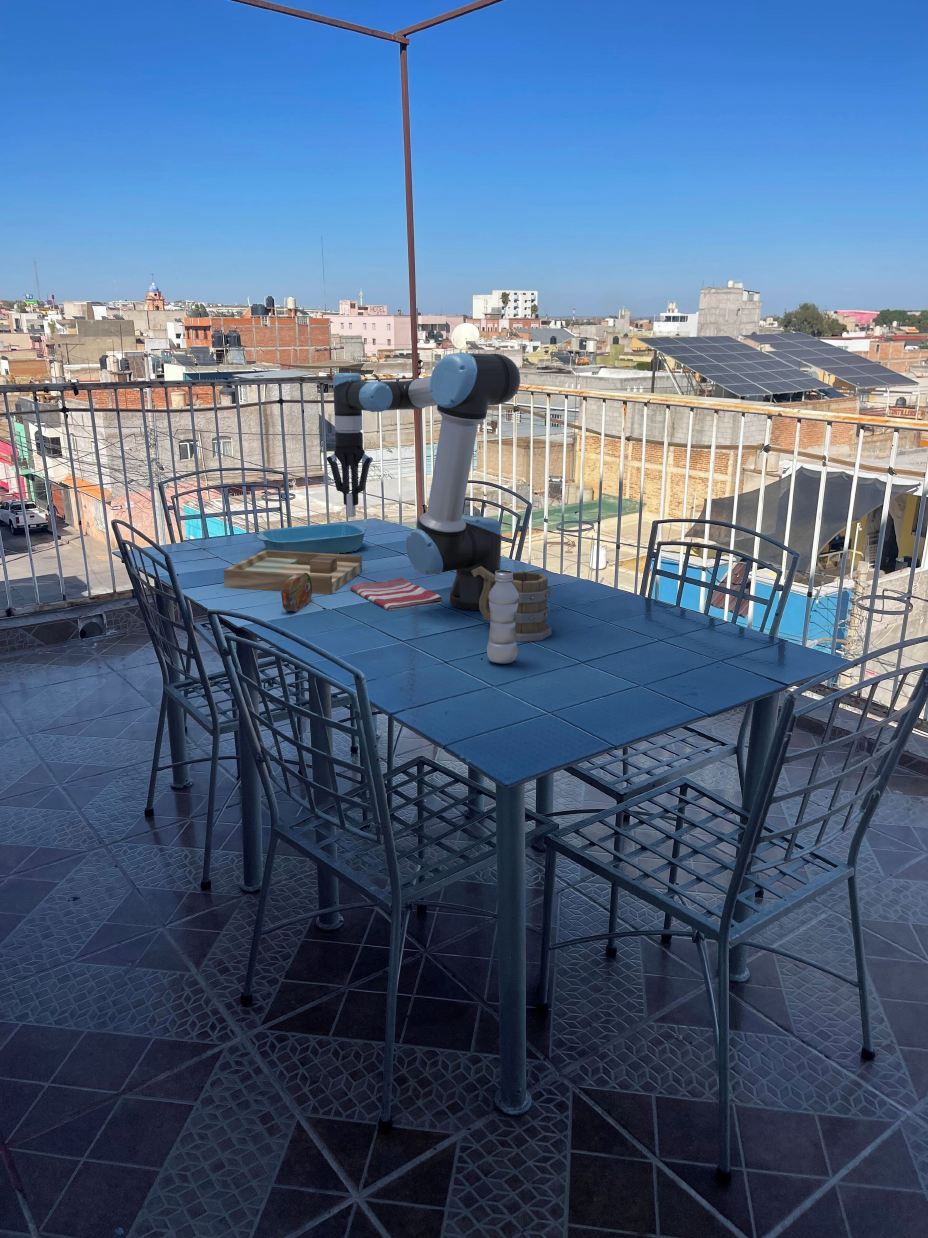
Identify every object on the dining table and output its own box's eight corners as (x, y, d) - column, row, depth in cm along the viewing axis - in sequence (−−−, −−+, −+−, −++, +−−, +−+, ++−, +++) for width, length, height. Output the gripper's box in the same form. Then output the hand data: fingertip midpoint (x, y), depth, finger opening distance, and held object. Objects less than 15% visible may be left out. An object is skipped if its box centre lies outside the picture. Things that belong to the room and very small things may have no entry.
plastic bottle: (498, 654, 187) (500, 566, 181) (523, 661, 183) (526, 571, 177) (480, 662, 182) (481, 571, 177) (505, 669, 178) (507, 577, 172)
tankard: (558, 630, 204) (560, 570, 200) (534, 645, 194) (537, 581, 189) (485, 617, 214) (486, 559, 209) (459, 630, 203) (460, 570, 199)
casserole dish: (268, 564, 268) (266, 541, 266) (251, 550, 287) (249, 529, 285) (377, 553, 284) (376, 532, 282) (354, 540, 303) (353, 520, 301)
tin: (291, 615, 214) (290, 583, 212) (280, 615, 215) (278, 582, 212) (313, 600, 228) (312, 569, 226) (302, 599, 229) (301, 568, 226)
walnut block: (329, 573, 243) (329, 562, 242) (310, 572, 244) (309, 560, 243) (337, 569, 249) (336, 557, 248) (317, 567, 250) (317, 556, 249)
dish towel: (403, 584, 246) (403, 575, 245) (444, 604, 227) (444, 594, 226) (349, 592, 238) (349, 583, 237) (387, 613, 219) (387, 603, 218)
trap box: (330, 594, 233) (329, 576, 232) (224, 587, 240) (223, 570, 238) (362, 571, 259) (361, 555, 257) (265, 565, 265) (264, 549, 263)
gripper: (375, 430, 235) (377, 515, 242) (331, 429, 238) (334, 513, 245) (367, 433, 228) (369, 520, 235) (321, 431, 231) (324, 517, 238)
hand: (351, 516), depth 240 cm, fingers closed
